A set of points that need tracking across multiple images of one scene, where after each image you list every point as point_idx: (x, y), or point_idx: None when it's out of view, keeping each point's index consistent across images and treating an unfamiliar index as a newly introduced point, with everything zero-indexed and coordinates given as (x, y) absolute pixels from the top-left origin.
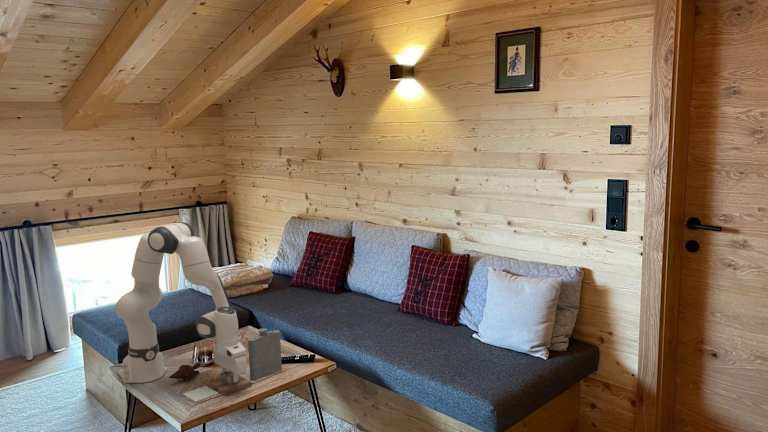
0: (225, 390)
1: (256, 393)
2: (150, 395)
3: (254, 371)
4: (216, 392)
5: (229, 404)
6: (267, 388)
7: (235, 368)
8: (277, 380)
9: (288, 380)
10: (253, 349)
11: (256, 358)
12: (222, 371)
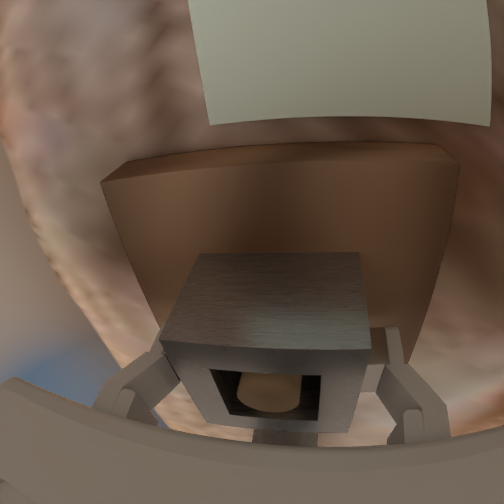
0: (115, 188)
1: (88, 312)
2: None
3: (253, 439)
4: (233, 113)
5: (6, 137)
6: (126, 363)
7: (5, 437)
8: (191, 413)
9: (168, 420)
10: None
11: None
12: (411, 373)
